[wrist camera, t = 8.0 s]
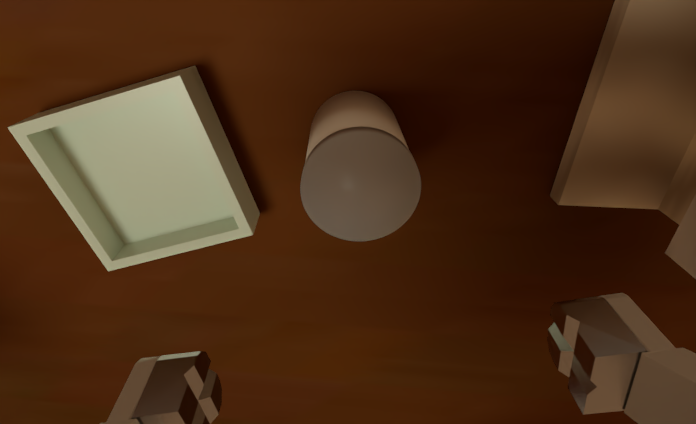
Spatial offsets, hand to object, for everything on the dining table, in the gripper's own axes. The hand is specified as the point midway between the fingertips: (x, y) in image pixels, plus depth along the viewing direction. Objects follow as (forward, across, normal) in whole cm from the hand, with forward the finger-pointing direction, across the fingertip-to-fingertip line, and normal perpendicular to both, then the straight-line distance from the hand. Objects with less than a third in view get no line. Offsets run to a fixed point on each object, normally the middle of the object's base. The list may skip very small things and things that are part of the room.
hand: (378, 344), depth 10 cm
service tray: (+16, +12, +1) cm, 20 cm away
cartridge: (+16, 0, +1) cm, 16 cm away
